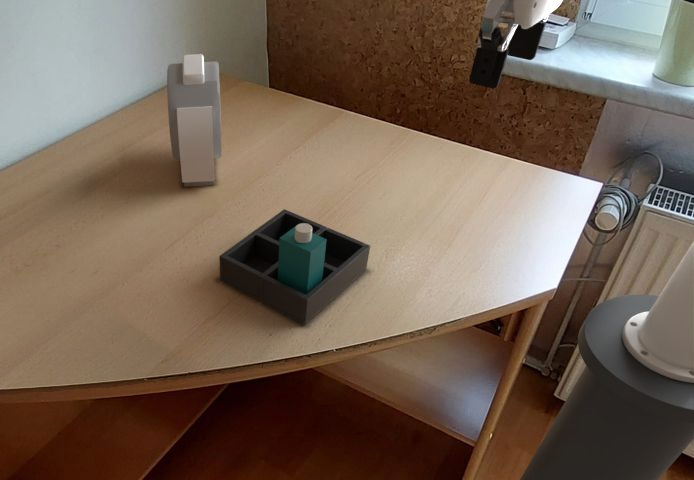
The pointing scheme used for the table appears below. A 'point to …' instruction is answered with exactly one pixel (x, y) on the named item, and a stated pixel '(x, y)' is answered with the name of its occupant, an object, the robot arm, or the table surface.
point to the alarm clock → (195, 118)
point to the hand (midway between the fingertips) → (502, 70)
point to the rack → (262, 267)
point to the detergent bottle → (301, 258)
